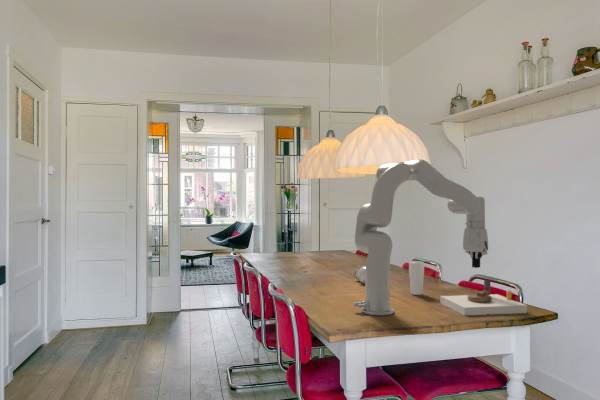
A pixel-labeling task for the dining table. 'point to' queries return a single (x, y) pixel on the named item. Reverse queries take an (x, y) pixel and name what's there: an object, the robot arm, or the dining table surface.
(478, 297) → the brown l-shaped piece
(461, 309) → the stand
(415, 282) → the drinking glass
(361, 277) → the potion bottle
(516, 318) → the dining table surface
